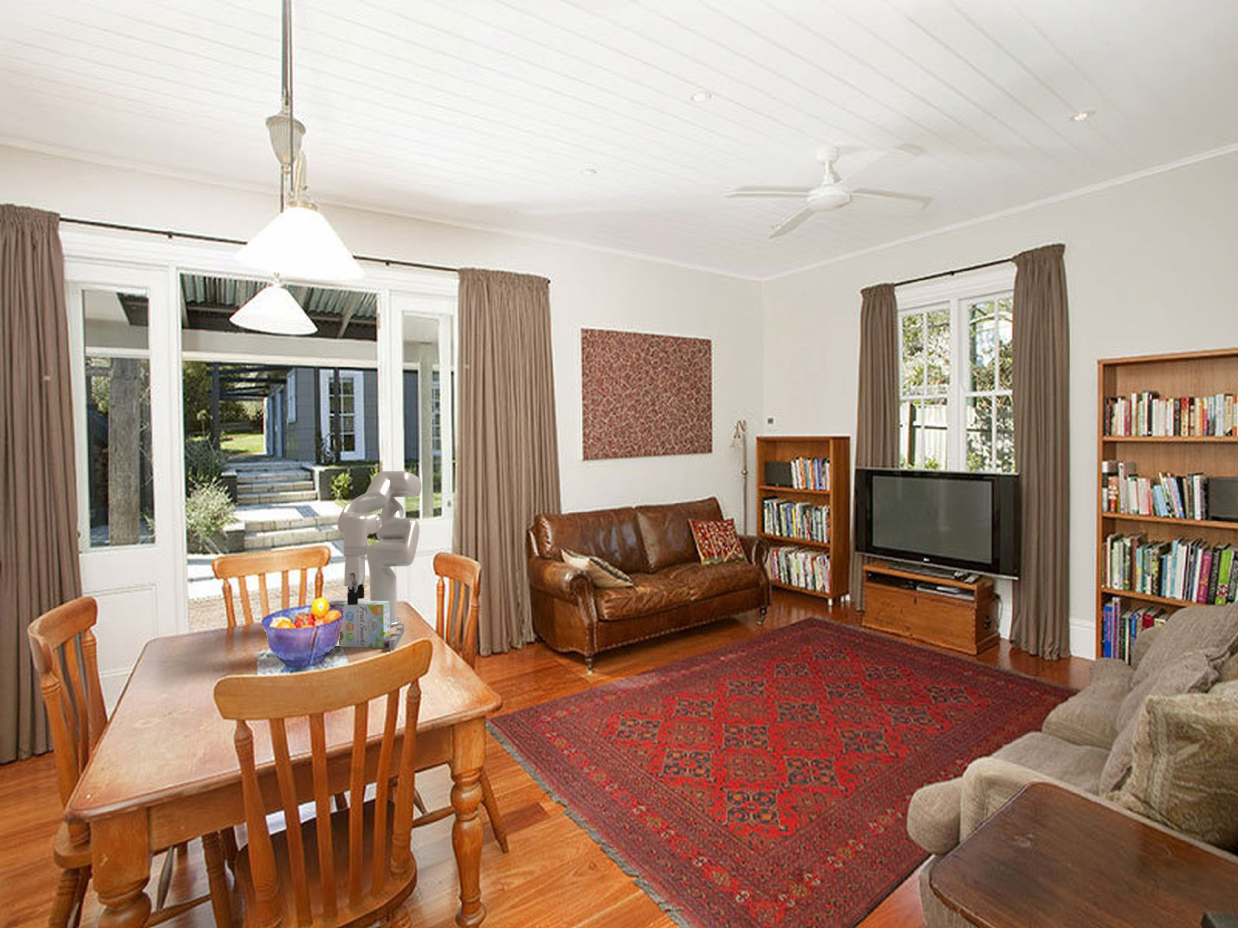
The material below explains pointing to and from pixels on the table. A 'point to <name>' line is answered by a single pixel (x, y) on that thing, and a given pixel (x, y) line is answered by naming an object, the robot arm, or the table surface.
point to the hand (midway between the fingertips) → (356, 601)
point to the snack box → (364, 623)
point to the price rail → (396, 637)
